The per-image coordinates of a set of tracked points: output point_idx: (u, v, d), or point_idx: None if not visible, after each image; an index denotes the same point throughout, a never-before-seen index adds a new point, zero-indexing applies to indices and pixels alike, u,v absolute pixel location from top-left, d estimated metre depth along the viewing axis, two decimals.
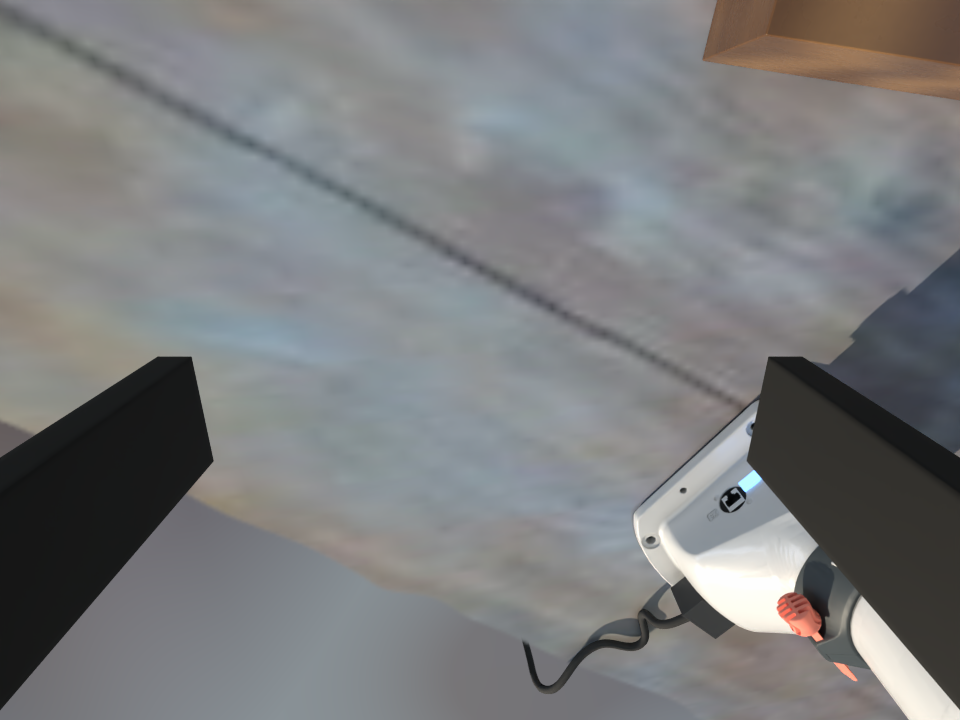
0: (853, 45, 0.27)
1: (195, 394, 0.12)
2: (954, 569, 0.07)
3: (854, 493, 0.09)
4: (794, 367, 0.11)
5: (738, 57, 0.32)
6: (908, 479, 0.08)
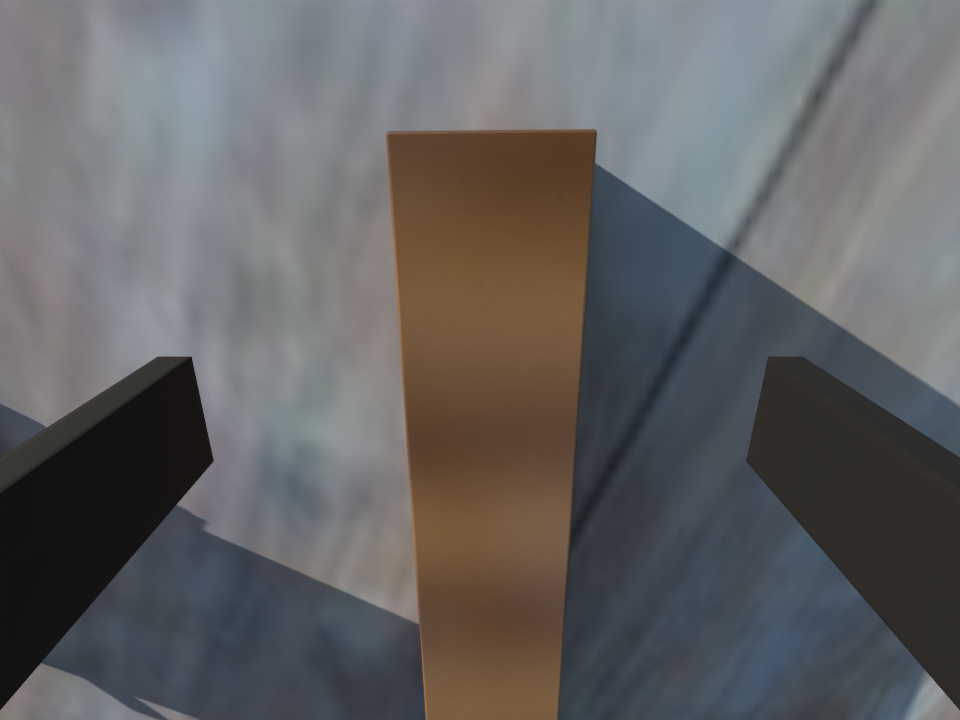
0: (401, 295, 0.16)
1: (195, 394, 0.12)
2: (954, 569, 0.07)
3: (854, 493, 0.09)
4: (794, 367, 0.11)
5: None
6: (908, 479, 0.08)
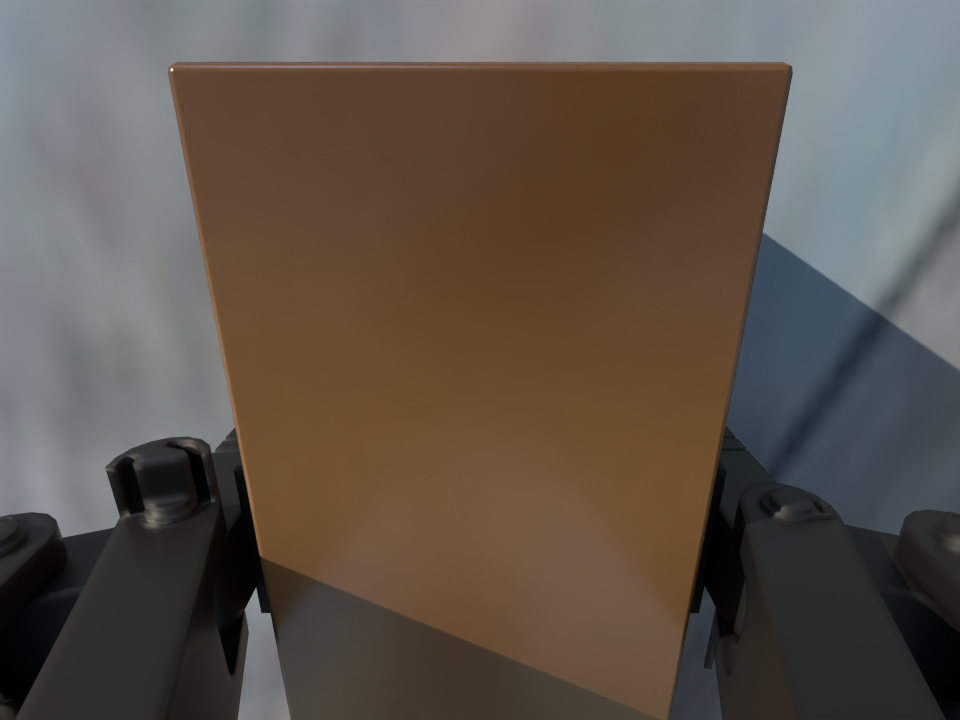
0: (255, 488, 0.06)
1: None
2: None
3: None
4: None
5: None
6: None
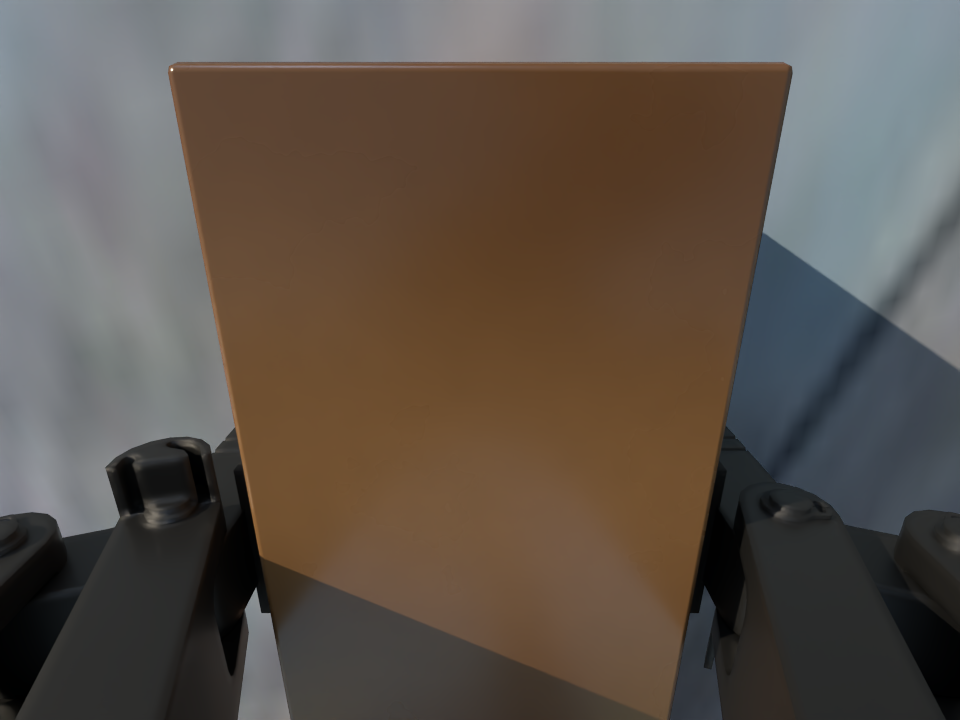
0: (255, 488, 0.06)
1: None
2: None
3: None
4: None
5: None
6: None
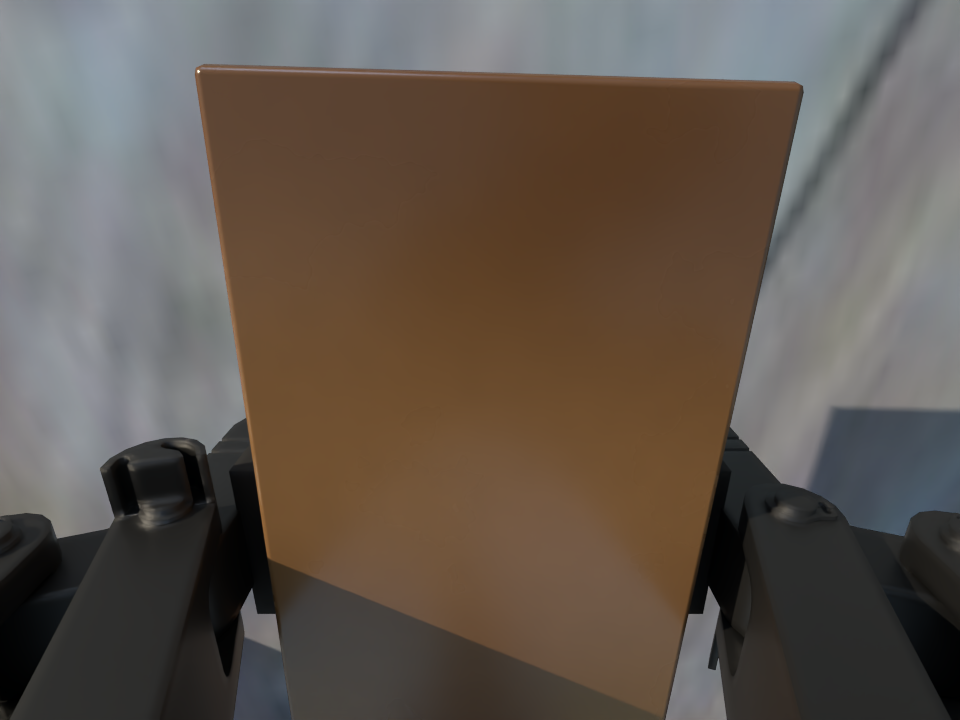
0: (265, 486, 0.06)
1: None
2: None
3: None
4: None
5: None
6: None
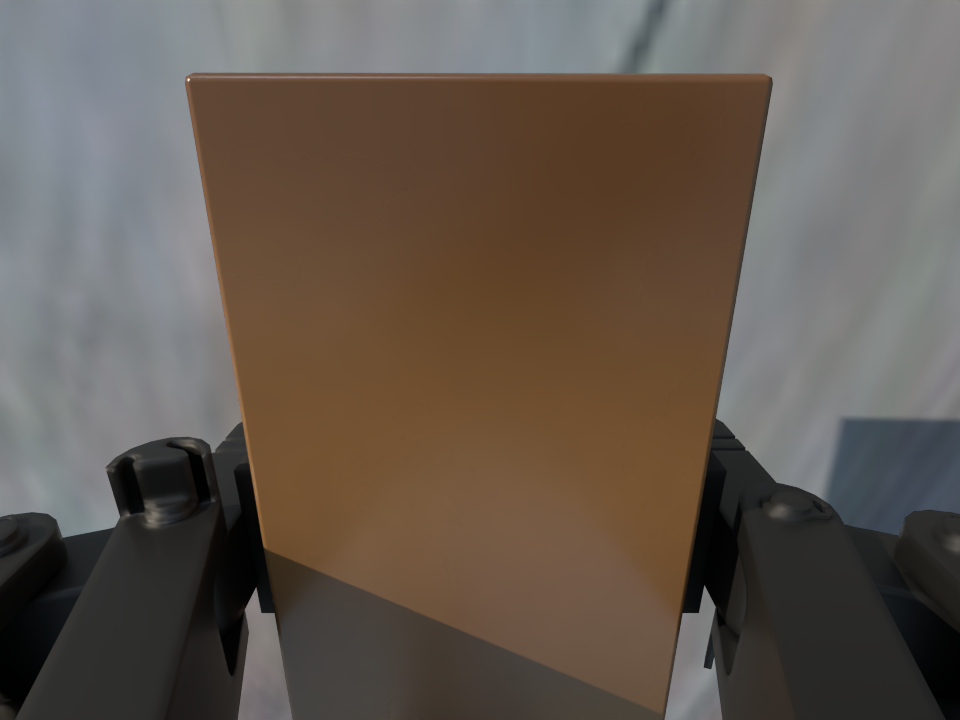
0: (261, 482, 0.07)
1: None
2: None
3: None
4: None
5: None
6: None
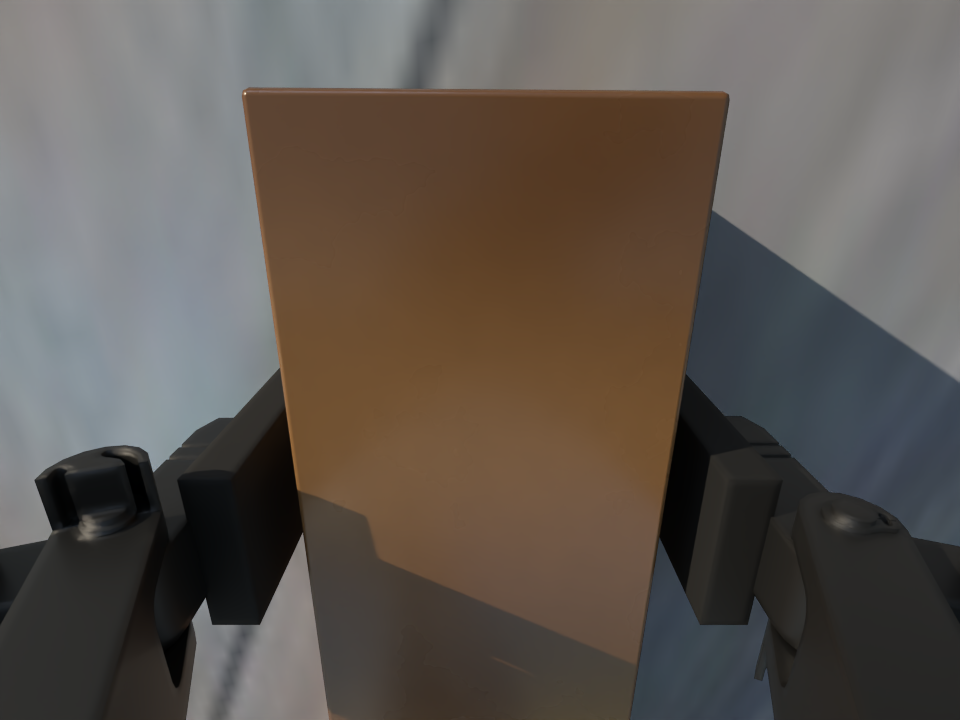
0: (297, 435, 0.08)
1: None
2: (689, 492, 0.09)
3: None
4: None
5: None
6: None
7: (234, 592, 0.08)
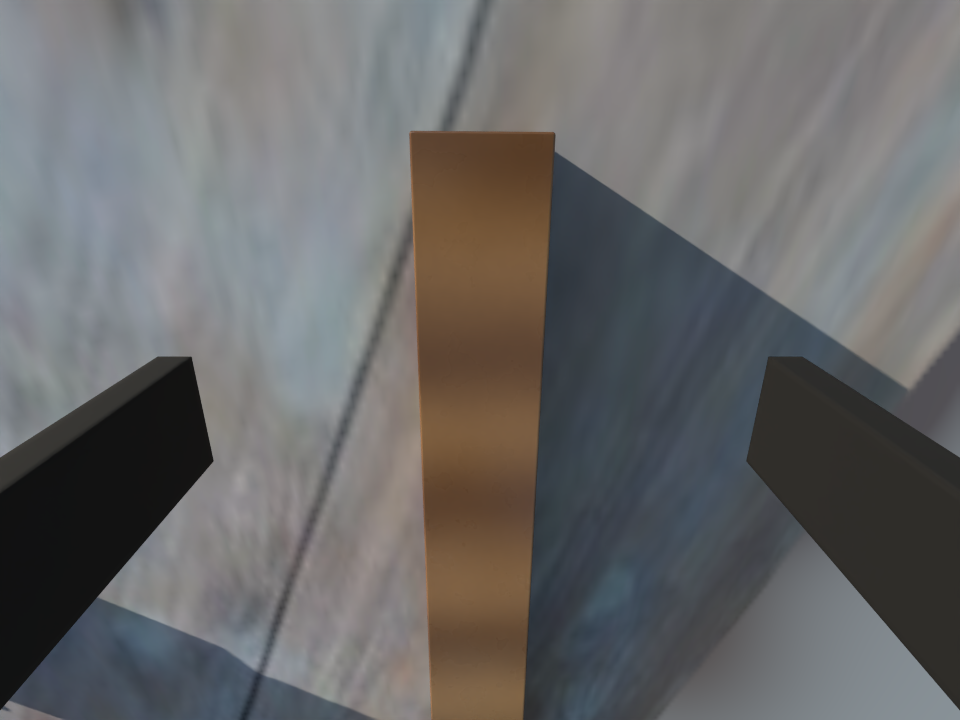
0: (417, 248, 0.22)
1: (195, 394, 0.12)
2: (954, 569, 0.07)
3: (854, 493, 0.09)
4: (794, 367, 0.11)
5: None
6: (908, 479, 0.08)
7: None
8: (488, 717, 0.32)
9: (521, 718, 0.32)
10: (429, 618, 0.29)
